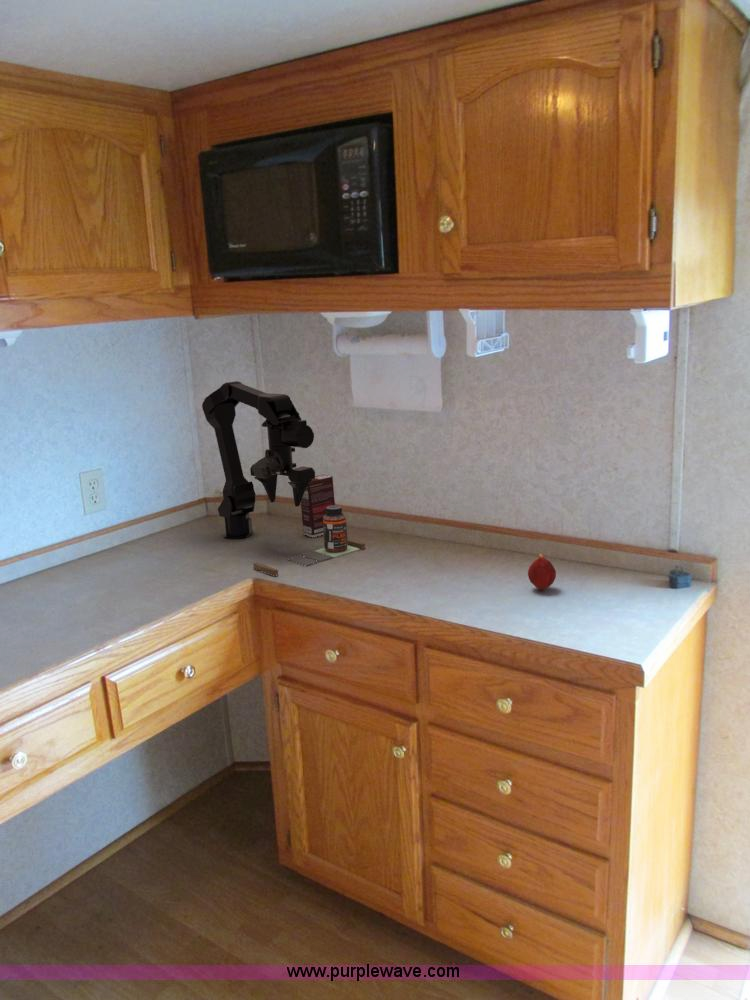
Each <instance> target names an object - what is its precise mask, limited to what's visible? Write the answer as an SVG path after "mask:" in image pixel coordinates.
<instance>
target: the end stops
mask: <svg viewBox="0 0 750 1000" xmlns="http://www.w3.org/2000/svg"><path fill="white" fill-rule="evenodd" d="M347 545H349V546H352V547H356V548H359V549H360V550H361V551H364V550H366V543H364V542H360V541H357V540H353V539H349V538H347ZM252 565H253V570H255V569H257V570H259V571H258V572H260V571H263V572H266V573H269V574H272V575H274V576H276V575H278V576H279V569H276V568H274V567H272V566H269V565H265V564H262V563H260V562H254V563H252ZM257 570H256V571H257ZM263 572H262V573H263Z"/></svg>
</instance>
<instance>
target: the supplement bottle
mask: <svg viewBox="0 0 750 1000" xmlns="http://www.w3.org/2000/svg"><path fill="white" fill-rule="evenodd" d="M326 512H327V514H326V515H325V516H324V517H323V528H324V535H323V543H324V544H323V545H324V548H325V550H326V551H329V552H341V551H344V550H346V549H347V539H348V529H347V517H346V515H345V514H344V513H343V507H342V506H341V505H336V504H335V505H333V506H328V507H326Z"/></svg>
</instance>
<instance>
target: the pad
mask: <svg viewBox="0 0 750 1000" xmlns="http://www.w3.org/2000/svg"><path fill="white" fill-rule="evenodd" d="M360 550H361V549H359V548H356V547H352V546H349V545H347V549H346V550H344V551H341V552H329V551H326V550H325V547H321V548H319V549H316V550H314V551H315V552H316V553H317V552H318V553H320V554H324V555H327V556H329V557H333V558H332V559H334V558H339V557H341V556H344V555H345V556H346V555H347V554H351V553H355V552H357V551H360ZM338 556H339V557H338Z"/></svg>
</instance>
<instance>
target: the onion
mask: <svg viewBox="0 0 750 1000" xmlns="http://www.w3.org/2000/svg"><path fill="white" fill-rule="evenodd" d="M527 577H528V580H529V582H530V583H531V584H532V585H533V586H534V587H535V588H536V589H538V590H540V591H545V590H546V589H547V588H549V587H551V586H552V585H553V583H554V582H555V579H556V577H557V570H556V569H555V567H554V565H553V563H552V562H551V561H550V560H548V558H546V557H545V556H544V555H543V554H542V553H539V556H538V558H537V559H535V560H534V561H533V562H532V563H531V564H530V565H529V568H528V570H527Z"/></svg>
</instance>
